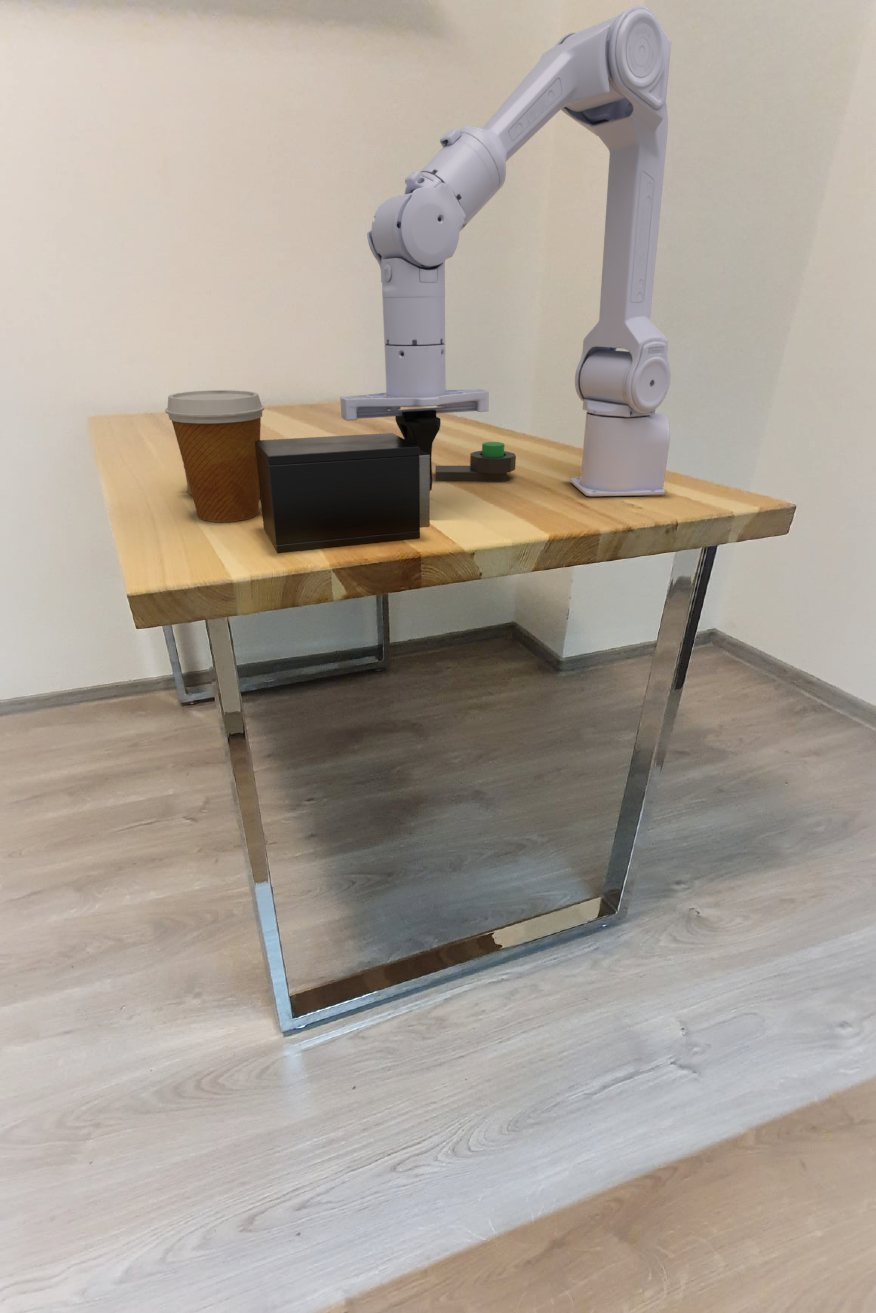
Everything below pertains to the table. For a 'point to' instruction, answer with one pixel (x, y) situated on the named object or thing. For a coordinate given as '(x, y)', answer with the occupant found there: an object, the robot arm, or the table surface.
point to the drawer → (425, 489)
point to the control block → (479, 468)
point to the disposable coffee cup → (219, 450)
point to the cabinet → (338, 491)
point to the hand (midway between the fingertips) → (418, 489)
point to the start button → (493, 449)
